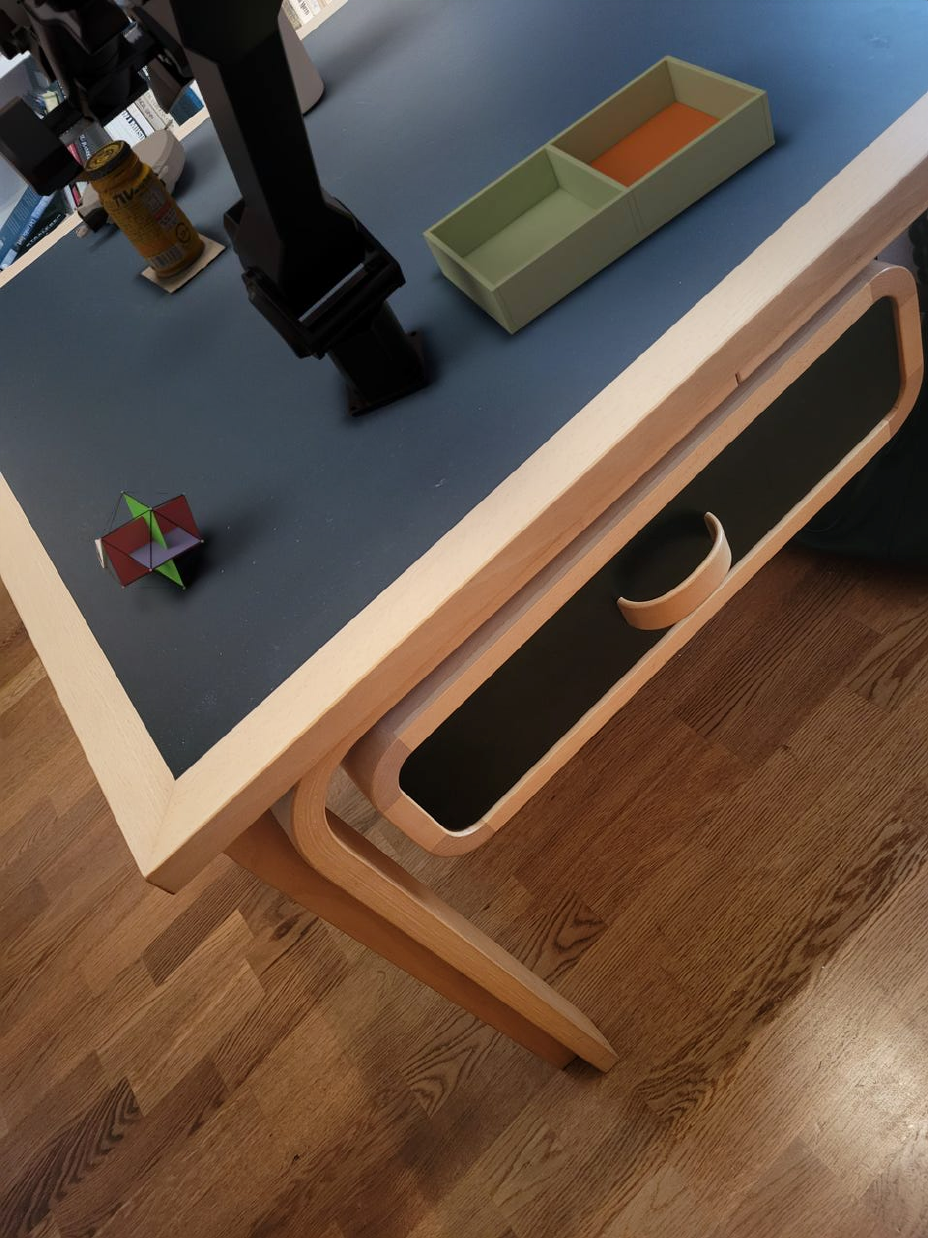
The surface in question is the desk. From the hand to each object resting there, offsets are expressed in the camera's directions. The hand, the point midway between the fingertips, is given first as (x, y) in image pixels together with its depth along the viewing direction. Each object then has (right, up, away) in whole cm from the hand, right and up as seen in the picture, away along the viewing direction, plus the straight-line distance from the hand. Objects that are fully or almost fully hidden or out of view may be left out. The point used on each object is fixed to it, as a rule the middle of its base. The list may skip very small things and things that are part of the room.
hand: (124, 142), depth 81 cm
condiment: (+1, -5, +16) cm, 17 cm away
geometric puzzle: (+9, -38, -12) cm, 40 cm away
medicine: (+10, +17, +26) cm, 33 cm away
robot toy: (-8, +8, +29) cm, 31 cm away
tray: (+40, -10, -9) cm, 42 cm away
